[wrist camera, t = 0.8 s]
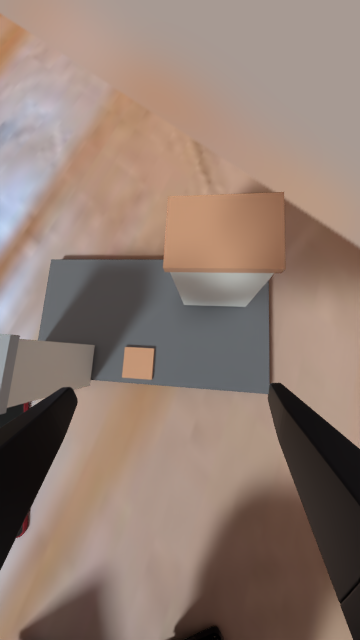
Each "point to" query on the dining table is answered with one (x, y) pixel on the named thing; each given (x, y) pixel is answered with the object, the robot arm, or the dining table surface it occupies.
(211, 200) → the white box tan lid
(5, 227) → the dining table surface
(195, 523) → the dining table surface
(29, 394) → the grey rectangular block
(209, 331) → the grey flat board
